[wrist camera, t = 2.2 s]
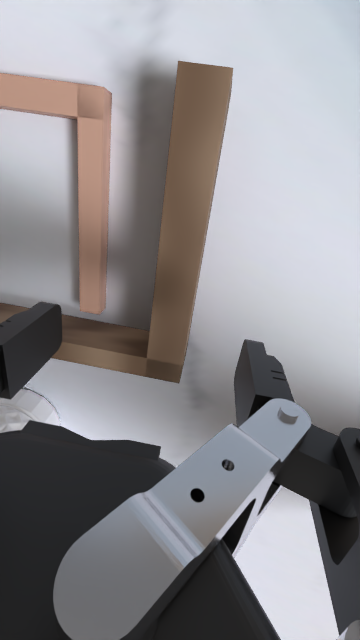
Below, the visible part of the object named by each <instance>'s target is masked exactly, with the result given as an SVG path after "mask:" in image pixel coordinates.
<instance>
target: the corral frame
mask: <svg viewBox="0 0 360 640" xmlns="http://www.w3.org/2000/svg"><path fill="white" fill-rule="evenodd" d="M111 102H112V93H111V92H109V91H108V90H107V89H106V88H105V87H100V86H93V85H85V84H78V83H71V82H63V81H56V80H48V79H41V78H34V77H26V76H19V75H11V74H4V73H0V109H6V110H13V111H20V112H27V113H34V114H41V115H48V116H55V117H62V118H69V119H76V120H78V201H79V282H80V311H83V312H88V313H94V314H99V315H100V314H101V312H102V311H103V310H104V309H105V307H106V273H107V239H108V205H109V171H110V136H111Z"/></svg>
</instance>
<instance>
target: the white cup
mask: <svg viewBox="0 0 360 640" xmlns="http://www.w3.org/2000/svg"><path fill="white" fill-rule="evenodd" d="M29 420H32V421H37V422H42V423H47V424H52V425H57V426H60V419H59V417H58V414H57V412H56V410H55V408H54V407H53V406H52V405H51V404H50V403H49V402H48V401H47V400H46V399H45V398H44V397H42V396H40V395H38V394H36V393H34V392H32V391H30V390H26V389H20V391H19V392H18V393H17V394H16V395H15V396H14V397H13V398H12V399H11V400H10V399H5V398H0V433H2V432H7V431H15V430H22V429H23V428H24V426H25V425H26V424H27V423H28V421H29Z"/></svg>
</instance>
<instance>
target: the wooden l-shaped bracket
mask: <svg viewBox="0 0 360 640" xmlns="http://www.w3.org/2000/svg"><path fill="white" fill-rule="evenodd" d="M232 75H233V68H230V67H222V66H214V65H206V64H198V63H191V62H183V61H178V69H177V78H176V88H175V97H174V107H173V116H172V126H171V135H170V144H169V154H168V163H167V173H166V182H165V192H164V201H163V211H162V220H161V230H160V239H159V249H158V258H157V267H156V277H155V286H154V296H153V305H152V315H151V324H150V331H147V330H142V329H136V328H131V327H126V326H121V325H115V324H110V323H105V322H99V321H94V320H89V319H84V318H78V317H73V316H68V315H62V343H61V346H60V348H59V350H58V351H57V352H56V353H55V354H54V355H53V356H52V357H51V358H54V359H59V360H64V361H69V362H74V363H79V364H84V365H89V366H94V367H100V368H105V369H110V370H115V371H120V372H125V373H130V374H135V375H140V376H145V377H150V378H155V379H160V380H165V381H170V382H175V383H179V382H180V378H181V373H182V369H183V365H184V360H185V356H186V350H187V344H188V339H189V333H190V327H191V321H192V316H193V310H194V304H195V298H196V293H197V287H198V281H199V275H200V269H201V264H202V258H203V252H204V246H205V241H206V235H207V229H208V223H209V218H210V212H211V206H212V200H213V195H214V189H215V183H216V177H217V171H218V166H219V160H220V154H221V148H222V143H223V137H224V131H225V125H226V120H227V114H228V108H229V102H230V96H231V88H232ZM29 309H30V308H25V307H20V306H15V305H9V304H4V303H0V323H2V322H3V321H6V319H8V318H10V317H11V316H13V315H14V314H17V313H20V312H23V311H26V310H29Z"/></svg>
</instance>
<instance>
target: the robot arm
mask: <svg viewBox="0 0 360 640" xmlns="http://www.w3.org/2000/svg"><path fill="white" fill-rule="evenodd" d="M61 343H62V313H61V307H60V306H59V305H57V304H51V303H46V302H39V303H38V304H36V305H35V306H33V307H32V308H30V309H29V310H26V311H23V312H20V313H17V314H14V315H13V316H11V317H10V318H8V319H6V321H3V322H2V323H0V398H5V399H10V400H11V399H12V398H13V397H14V396H15V395H16V394H17V393H18V392H19V391H20V389H21V388H22V387H23V386H24V385H25V384H26V383H27V382H28V381H29V380H30V379H31V378H32V377H33V376H34V375H35V374H36V373H37V372H38V371H39V370H40V369H41V368H42V367H43V366H44V364H45V363H46V362H47V361H48V360H49V359H50V358H51V357H52V356H53V355H54V354H55V353H56V352H57V351H58V350H59V348H60V346H61ZM286 380H287V379H286V376H285V374H284V370H283V367H282V365H281V363H280V362H279V361H278V360H277V359H276V358H275V357H274V356H269V355H267V354H266V351H265V347H264V344H263V343H262V342H257V341H251V340H246V339H245V340H244V343H243V346H242V349H241V353H240V357H239V360H238V364H237V367H236V371H235V377H234V391H235V404H236V418H237V426H236V425H234V424H229V425H228V426H226V427H225V428H224V429H223V430H221V431H220V432H219V433H218V434H217V435H215V436H214V437H213V438H212V439H211V440H209V441H208V442H207V443H206V444H205V445H203V446H202V447H201V448H200V449H199V450H197V451H196V452H195V453H194V454H192V455H191V456H190V457H189V458H188V459H186V460H185V461H184V462H183V463H182V464H180V465H179V466H178V467H177V468H175V467H174V466H173V465H171V464H170V463H168V462H167V461H165V460H163V459H161V458H159V455H160V449H161V447H160V446H155V445H150V444H145V443H141V442H136V441H131V440H89V439H87V438H85V437H82V436H80V435H78V434H76V433H74V432H72V431H70V430H68V429H66V428H64V427H62V426H57V425H52V424H47V423H42V422H37V421H32V420H29V421H28V423H27V424H26V425H25V426H24V428H23V429H22V430H15V431H7V432H2V433H0V640H281V639H280V638H279V636H278V634H277V632H276V631H275V629H274V627H273V625H272V624H271V622H270V620H269V619H268V617H267V615H266V613H265V612H264V610H263V608H262V606H261V605H260V603H259V601H258V599H257V598H256V596H255V594H254V593H253V591H252V589H251V587H250V586H249V584H248V582H247V580H246V579H245V577H244V575H243V574H242V572H241V570H240V568H239V567H238V565H237V563H236V561H235V560H234V558H235V556H236V555H237V553H238V552H239V550H240V549H241V547H242V546H243V544H244V542H245V541H246V539H247V537H248V535H249V534H250V532H251V530H252V528H253V527H254V525H255V524H256V522H257V521H258V520H259V518H260V517H261V515H262V514H263V513H264V511H265V510H266V509H267V507H268V506H269V504H270V503H271V502H272V500H273V499H274V497H275V496H276V495H277V493H278V492H279V491H280V489H281V488H282V486H283V487H285V488H287V489H289V490H291V491H293V492H295V493H297V494H299V495H301V496H303V497H305V498H307V499H309V502H310V506H311V511H312V515H313V520H314V524H315V529H316V533H317V538H318V542H319V547H320V551H321V556H322V560H323V565H324V569H325V574H326V578H327V583H328V587H329V591H330V596H331V600H332V605H333V609H334V614H335V618H336V623H337V627H338V632H339V637H338V638H337V639H336V640H360V429H357V428H346V429H344V430H342V431H341V433H340V435H339V436H336V435H334V434H332V433H329V432H327V431H325V430H322V429H320V428H318V427H316V426H314V425H312V424H311V418H310V416H309V414H308V413H307V412H306V411H305V410H304V409H303V408H302V407H301V406H299V405H298V404H296V403H294V400H293V397H292V394H291V391H290V388H289V385H288V382H287V381H286Z"/></svg>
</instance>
